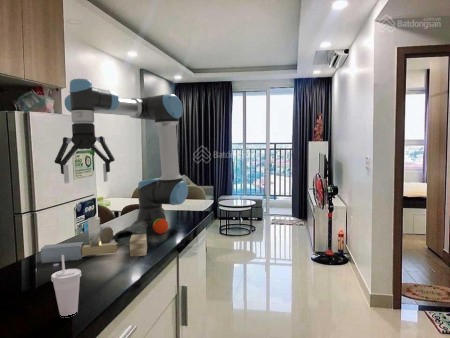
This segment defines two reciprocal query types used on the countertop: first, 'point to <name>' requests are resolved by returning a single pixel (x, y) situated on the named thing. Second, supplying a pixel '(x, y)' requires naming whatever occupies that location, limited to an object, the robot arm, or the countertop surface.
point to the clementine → (160, 226)
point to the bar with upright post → (97, 240)
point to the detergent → (130, 232)
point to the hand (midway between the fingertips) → (86, 182)
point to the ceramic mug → (105, 234)
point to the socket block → (138, 245)
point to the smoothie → (67, 289)
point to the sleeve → (61, 252)
